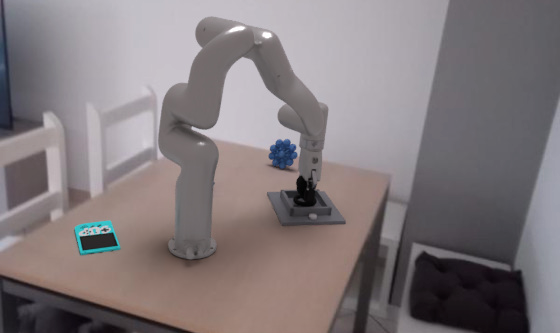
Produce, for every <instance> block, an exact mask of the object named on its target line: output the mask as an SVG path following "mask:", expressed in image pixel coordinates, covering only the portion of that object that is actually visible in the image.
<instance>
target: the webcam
mask: <svg viewBox="0 0 560 333" xmlns="http://www.w3.org/2000/svg"><path fill="white" fill-rule="evenodd" d="M308 180H312V178H308ZM310 184H312V182H309V185H310ZM295 185H296V189H297V192H298V193H299V194H300V195H296V196H295V197H294V198H293V201H294V203H295V204H297V205H299V206H303V207H311V206H314V205H315V204H316V203H317V200H316V198H314V201H313V202H302V201H299V200H298V199H303V200H304V193H305V189H306V181H305V180H304V178H303V176H299V175H298V177H297V179H296V181H295ZM317 186H318V184H317V185H316V187H317Z"/></svg>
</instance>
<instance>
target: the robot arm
mask: <svg viewBox="0 0 560 333" xmlns="http://www.w3.org/2000/svg"><path fill="white" fill-rule="evenodd" d="M194 34H195V40H196V42H197V44H198V46H200V47H201V49H200V50H199V51H198V52H197V54H196V56H195V57H194V59H193V61H192V63H191V66H190V71H189V76H188V81H187V82H177V83H175V84H173V85H171V87H169V89H168V90H167V91H166V93H165V95H164V97H163V98H162V99H163V100H162V105H161V111H160V119H159V126H158V135H157V145H158V149H159V152H160V154H161V155H163V157H164V158H166V159H167V160H170V161H171V162H173V163H174V164H176V165H178V166H179V167H180V172H179V175H178V176H177V179H176V182H175V189H174V190H175V192H174V195H175V197H174V198H175V199H174V200H175V202H174V203H175V204H174V236H172V237H171V238H170V240H169V241H168V243H167V244H168V246H167V247H168V250H169V252H170V253H171V254H173V255H174V256H176V257H177V258H181V259H187V260H198V259H199V260H200V259H204V258H207V257H210V256H211V255H213V254H214V253H215V251H217V241H216V240H215V239H214V238H213V237H212V223H213V221H212V220H213V204H214V202H213V200H214V185H215V184H214V182H215V176H216V175H215V174H216V171H217V167H218V162H219V159H220V158H219V157H220V152H219V148H218V146H217V144H216V142H214V140H212V139H211V138H210V137H209V136H207V135H205V134H202V133H201V132H198V131H197V130H194V129H192V127H193V128H195V129H199V130H203V131H205V130H211V129H212V128H214V126H216V124H217V122H218V121H219V118H220V117H219V116H220V112H221V107H222V106H221V105H222V102H223V93H224V87H225V80H226V78H227V75H228V72H229V70H230V69H231V67H233V66H234V64H235V63H237V61H239V60H240V59H242V58H244V59H246V60H247V59H248V60H251V61H252V62H253V64H254V66H255V67H256V69H257V72H258V74H259V76H260V78H261V80H262V83H263V84H264V86H265V88H266V89H267V91H269V92H270V93H271V94H272V95H273V96H275V97H276V98H278V99H279V100H280V101H282V102H283V103H285V104H283V105H282V106H281V107H280V108H279V109H278V111H277V117H276V118H277V120H278V122H279V124H280V125H282V126H283V127H284V128H286V129H289V130H291V131H295V132H297V133H300V134H299V135H300V136H299V144H298V147H299V148H300V151H299V152H300V153H299V157H298V158H299V159H298V172H299V174H298V177H299V176H303V178H304V180H305V181H306V189H305V193H304V201H305V202H313V201H314V197H315V190H316V188H317V186H318V182H320V181H321V179H322V178H321V177H322V169H323V168H322V166H323V150H324V148H325V147H324V146H325V140H326V133H327V124H328V116H329V106H328V104H325V103H323V102H320V101H318V99H317V97H316V96H315V95H314V93H313V92H312V91H311V90H310V88H309V87H307V85H306V84H305V83H304V82H303V81H302V80H301V79H300V78H299V77H298V76H297V75H296V73H295V72H294V69H293V68H292V65H291V62H290V60H289V59H288V56H287V54H286V51H285V50H284V46H283V44H282V42H281V41H280V38H279V36H278V35H277V34H276V33H275V32H273V31H272V30H269V29H268V28H267V29H266V28H262V27H258V26H253V25H249V24H246V23H243V22H239V21H236V20H233V19H227V18H222V17H217V16H207V17H203V19H201V20H200V21H199V22H198V23H197V25H196V27H195V32H194ZM308 178H312V180H308ZM309 182H312V184H310V185H309ZM316 185H317V186H316Z"/></svg>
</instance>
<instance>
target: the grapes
mask: <svg viewBox="0 0 560 333" xmlns="http://www.w3.org/2000/svg"><path fill="white" fill-rule="evenodd" d="M291 143H292V142H291V139H288V138H285V139H284V140H282V139H281V138H278V139H277V140H276V141H275V144H272V145H270V146H269V151H270V152H269V154H268V159H269V160H270V161H272V162H271V165H272V166H274V167H279V169H281V170H284V169H285V168H286V167H287V166H288V167H291V166H293V165H294V160H296V159H297V158H298V152H297V151H296V150H297V145H296V144H294V143H292V144H291Z"/></svg>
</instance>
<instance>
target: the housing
mask: <svg viewBox="0 0 560 333" xmlns="http://www.w3.org/2000/svg"><path fill="white" fill-rule="evenodd" d="M296 195H300V194H299V193H298V192H297V188H296V189H280V191H266V196H267V197H268V200H269V201H270V203H271V206H272V208H273V210H274V212H275V214H276V216H277V218H278V221H279V222H280V225H281V226H312V225H316V226H317V225H345V224H346V222H347V221H346V219H345V217H344V216H343V214H342V213H341V212H340V211H339V209H338V208H337V207H336V205H335V203H333V201H332V200H331V199H330V197H329V195H328V194H327V193H326V191H325V190H320V189H318V188H317V189H316V190H315V197H314V198H316V200H317V203H316V204H315V205H314V206H311V207H303V206H299V205H297V204H295V203H294V201H293V198H294V197H295V196H296ZM298 200H299V201H302V202H305V201H304V200H303V199H298Z"/></svg>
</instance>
